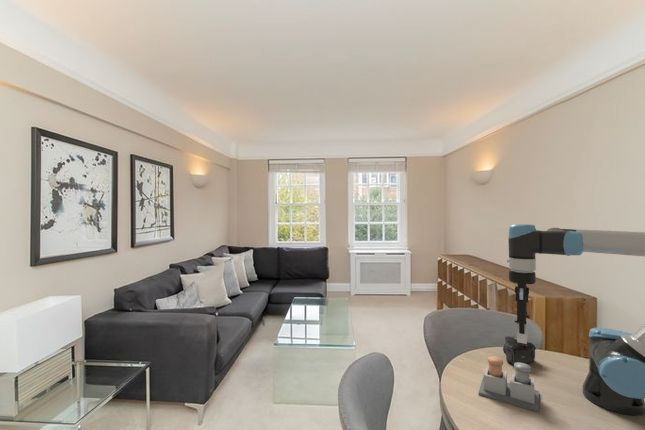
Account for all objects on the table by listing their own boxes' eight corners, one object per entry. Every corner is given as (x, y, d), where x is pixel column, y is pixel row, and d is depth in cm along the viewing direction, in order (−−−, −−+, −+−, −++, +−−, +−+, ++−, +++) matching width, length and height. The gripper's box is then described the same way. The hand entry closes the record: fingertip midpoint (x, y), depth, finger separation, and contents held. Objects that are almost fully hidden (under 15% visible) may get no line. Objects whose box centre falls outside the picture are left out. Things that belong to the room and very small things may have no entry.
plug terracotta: (503, 376, 110) (503, 358, 110) (502, 382, 106) (502, 364, 106) (488, 372, 113) (488, 355, 113) (486, 378, 109) (486, 360, 109)
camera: (511, 351, 138) (511, 329, 138) (537, 360, 130) (537, 336, 130) (498, 361, 130) (498, 337, 130) (525, 370, 122) (525, 345, 122)
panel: (538, 393, 107) (538, 375, 107) (538, 412, 97) (538, 393, 97) (483, 378, 117) (483, 362, 117) (478, 394, 107) (478, 377, 107)
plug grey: (531, 383, 105) (531, 364, 105) (530, 390, 101) (530, 371, 101) (514, 379, 108) (514, 361, 108) (513, 385, 104) (513, 367, 104)
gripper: (510, 265, 113) (510, 328, 114) (506, 274, 99) (507, 347, 99) (535, 267, 109) (535, 333, 110) (535, 276, 95) (535, 352, 95)
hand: (522, 339), depth 104 cm, fingers open, 4 cm apart
